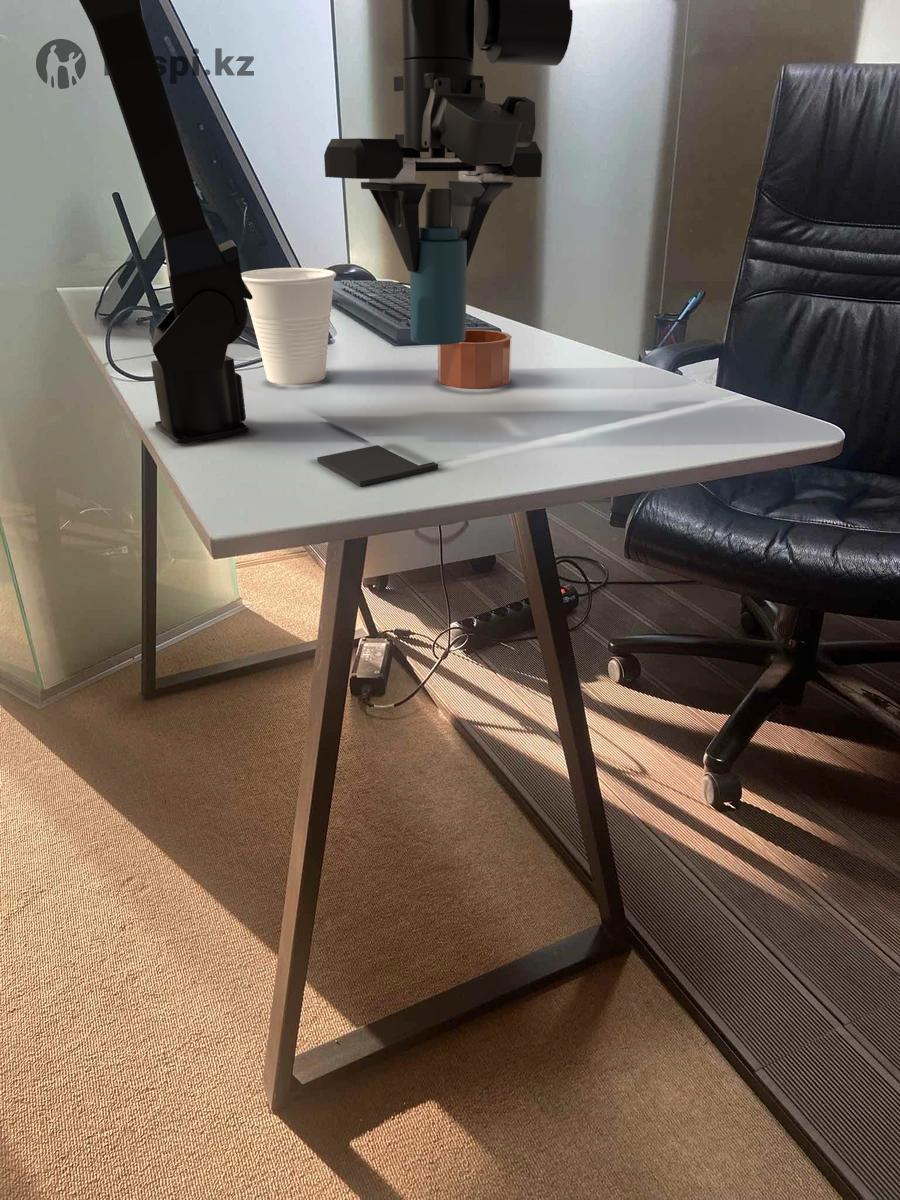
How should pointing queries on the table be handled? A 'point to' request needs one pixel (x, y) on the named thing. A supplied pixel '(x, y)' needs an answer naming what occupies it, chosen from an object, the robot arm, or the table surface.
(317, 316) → the cup
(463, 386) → the holder
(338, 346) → the table surface
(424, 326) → the bottle
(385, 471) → the coaster
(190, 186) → the robot arm
